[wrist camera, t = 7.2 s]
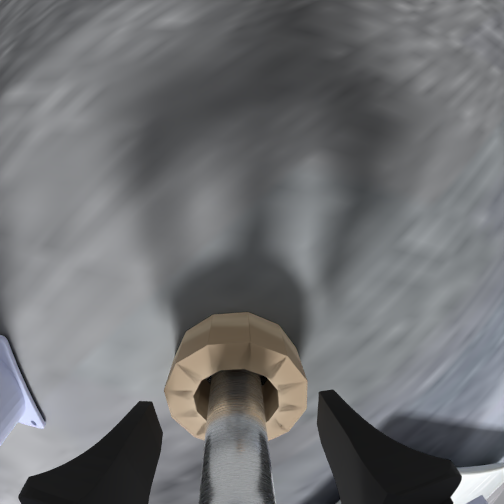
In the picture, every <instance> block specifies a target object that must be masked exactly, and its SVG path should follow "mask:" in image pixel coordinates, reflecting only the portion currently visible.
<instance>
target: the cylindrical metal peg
mask: <svg viewBox="0 0 504 504" xmlns="http://www.w3.org/2000/svg"><path fill="white" fill-rule="evenodd" d="M199 504H276V501H275V493H274V485H273V477H272V469H271V460H270V452H269V444H268V436H267V428H266V419H265V411H264V403H263V394H262V386H261V377H260V374H257V373H254V372H252V371H249V370H246V369H235V370H220V371H218V372H216V373H214V374H213V375H212V377H211V386H210V395H209V404H208V413H207V423H206V432H205V442H204V452H203V462H202V473H201V484H200V495H199Z"/></svg>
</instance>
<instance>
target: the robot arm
mask: <svg viewBox="0 0 504 504" xmlns="http://www.w3.org/2000/svg"><path fill="white" fill-rule="evenodd" d="M17 423H22V424H25V425H29V426H33V427H37V428H41V429H43V428H44V427H45V425H46V424H45V422H44V420H43V418H42V416H41V414H40V412H39V410H38V409H37V407H36V405H35V403H34V401H33V399H32V397H31V395H30V392H29V390H28V388H27V386H26V384H25V382H24V379H23V377H22V375H21V373H20V370H19V368H18V366H17V363H16V361H15V358H14V356H13V353H12V350H11V348H10V345H9V342H8V340H7V339H6V337H4V336H3V335H0V446H1V445H2V443H3V442H4V440H5V439H6V438H7V436H8V435H9V434H10V432H11V431H12V429H13V428H14V427H15V425H16V424H17ZM317 426H318V431H319V436H320V440H321V444H322V446H323V449H324V452H325V455H326V457H327V460H328V462H329V465H330V468H331V470H332V473H333V476H334V478H335V481H336V484H337V487H338V492H339V496H340V500H341V504H453V501H452V499H451V496H452V495H453V493H454V492H455V491H456V489H457V488H458V486H459V485H460V483H461V480H462V476H461V474H460V473H459V471H458V469H457V468H456V466H455V465H454V464H453V463H452V462H451V460H447V459H442V458H438V457H434V456H430V455H427V454H424V453H421V452H419V451H416V450H414V449H411V448H409V447H407V446H405V445H402V444H400V443H398V442H396V441H395V440H393V439H391V438H389V437H388V436H386V435H385V434H383V433H382V432H380V431H379V430H377V429H376V428H374V427H373V426H372V425H371V424H369V423H368V422H367V421H366V420H364V419H363V418H362V417H361V416H360V415H359V414H357V413H356V412H355V411H354V410H353V409H352V408H351V407H350V406H349V405H348V404H347V403H346V402H345V401H344V400H343V399H342V398H341V397H340V396H339V395H338V394H337V393H336V392H335V391H334V390H326V391H320V392H319V401H318V416H317ZM162 436H163V432H162V429H161V426H160V424H159V421H158V418H157V415H156V412H155V409H154V406H153V403H152V402H147V401H139V402H138V403H137V404H136V405H135V406H134V407H133V408H132V409H131V411H130V412H129V413H128V414H127V415H126V416H125V417H124V418H123V419H122V420H121V421H120V422H119V423H118V424H117V425H116V426H115V427H114V428H113V429H112V430H111V431H110V432H109V433H108V434H107V435H106V436H105V437H103V438H102V439H101V440H100V441H99V442H98V443H96V444H95V445H94V446H93V447H91V448H90V449H88V450H87V451H86V452H84V453H83V454H81V455H79V456H78V457H76V458H74V459H73V460H71V461H69V462H67V463H65V464H63V465H61V466H59V467H57V468H55V469H52V470H50V471H47V472H44V473H41V474H38V475H34V476H31V477H29V478H28V479H27V481H26V483H25V485H24V487H23V488H22V490H21V492H20V494H19V500H20V502H21V504H148V501H149V494H150V490H151V486H152V482H153V478H154V474H155V471H156V467H157V463H158V460H159V456H160V452H161V445H162ZM466 504H488V503H487V501H486V500H485V498H484V497H483V495H480V496H479V497H477V498H475V499H473V500H472V501H470V502H468V503H466Z"/></svg>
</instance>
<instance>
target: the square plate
mask: <svg viewBox="0 0 504 504" xmlns="http://www.w3.org/2000/svg"><path fill="white" fill-rule="evenodd" d="M457 469H458V471H459V473H460V474H461V476H462V480H461V483H460V485H459V486H458V488H457V489H456V491H455V492H454V493H453V495H452V496H451V499H452V501H453V504H466V503H468V502H470V501H472V500H473V499H475V498H477V497H479V496H480V495H483V497H484V498H485V500H486V499H487V498H488V497H489V496H490V495H491V494H492V493H493V492H494V491H495V490H496V489H497V488H498V487H499V486H500V485H501V484H502V483H503V482H504V463H495V464H488V465H482V466H472V467H457ZM336 504H341V500H340V501H338V502H337V503H336Z"/></svg>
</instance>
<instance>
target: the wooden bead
mask: <svg viewBox="0 0 504 504" xmlns="http://www.w3.org/2000/svg"><path fill="white" fill-rule="evenodd" d="M235 369H246V370H249V371H252V372H254V373H257V374H260V375H263V376H266V377H267V378H268V379H267V381H266V382H265V384H264V385H263V386H262V394H263V403H264V411H265V419H266V428H267V436H268V441H269V440H271V439H274V438H276V437H278V436H280V435H282V434H284V433H286V432H288V431H289V430H290V429H291V428H292V427H293V425H294V424H295V423H296V422H297V420H298V419H299V418H300V416H301V415H302V414H303V413H304V411H305V410H306V408H307V379H306V376H305V373H304V370H303V367H302V364H301V361H300V358H299V355H298V352H297V349H296V347H295V346H294V344H293V343H292V342H291V340H290V339H289V338H288V336H287V335H286V334H285V332H284V331H283V330H282V328H281V327H280V326H279V325H278V324H276V323H273V322H271V321H269V320H266V319H264V318H261V317H259V316H256V315H254V314H252V313H249V312H240V313H227V314H213V315H211V316H210V317H208V318H207V319H205V320H203V321H202V322H200V323H199V324H197V325H195V326H194V327H192V328H191V329H189V330H187V331H186V333H185V335H184V337H183V339H182V341H181V344H180V346H179V348H178V350H177V353H176V355H175V357H174V360H173V364H172V367H171V370H170V373H169V376H168V379H167V382H166V385H165V388H164V392H165V396H166V399H167V403H168V406H169V410H170V413H171V416H172V418H173V419H175V420H176V421H177V422H178V423H179V424H180V425H181V426H182V427H184V428H185V429H186V430H187V431H188V432H189V433H190V434H192V435H193V436H194V437H196V438H199V439H202V440H205V432H206V423H207V413H208V404H209V395H210V386H211V385H210V384H209V382H208V381H207V380H206V379H205V378H207V377H209V376H211V375H213V374H214V373H216V372H218V371H220V370H235Z"/></svg>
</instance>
